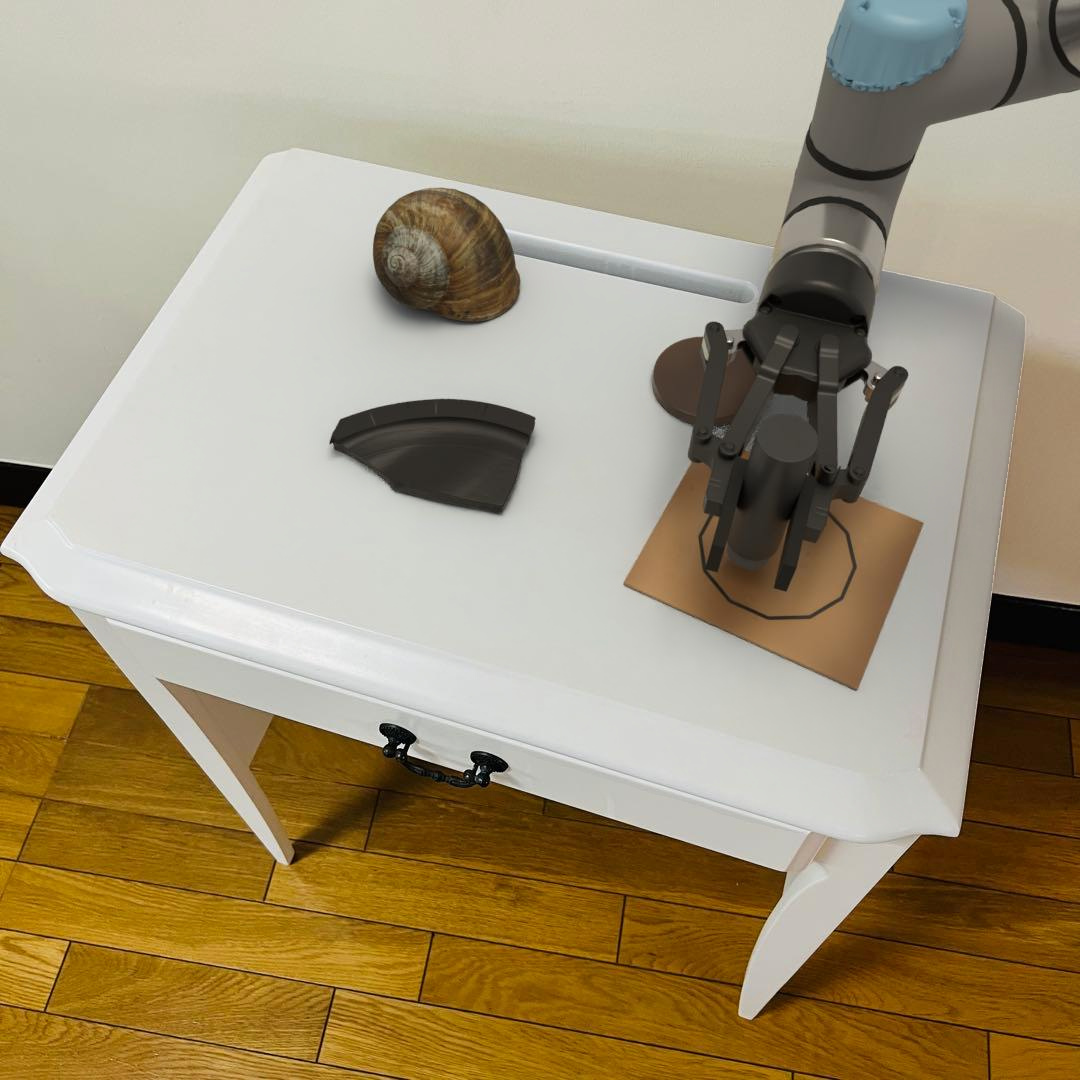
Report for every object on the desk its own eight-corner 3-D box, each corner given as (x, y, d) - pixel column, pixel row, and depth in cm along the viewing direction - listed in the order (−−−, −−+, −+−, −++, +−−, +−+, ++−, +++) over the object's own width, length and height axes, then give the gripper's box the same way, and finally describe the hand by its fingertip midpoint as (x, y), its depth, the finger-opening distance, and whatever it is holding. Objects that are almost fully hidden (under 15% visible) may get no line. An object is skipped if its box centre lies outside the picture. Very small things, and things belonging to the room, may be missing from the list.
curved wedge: (363, 386, 77) (360, 371, 76) (538, 428, 76) (539, 413, 74) (319, 473, 73) (315, 459, 72) (504, 519, 71) (503, 506, 70)
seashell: (358, 311, 82) (343, 230, 75) (406, 234, 86) (396, 152, 80) (493, 347, 80) (490, 268, 73) (534, 267, 84) (535, 186, 78)
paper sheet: (922, 524, 71) (924, 521, 71) (856, 690, 65) (858, 688, 64) (706, 437, 75) (707, 433, 75) (623, 584, 69) (623, 582, 68)
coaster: (775, 368, 79) (777, 359, 78) (735, 442, 75) (737, 433, 74) (678, 331, 81) (679, 322, 80) (634, 401, 77) (635, 392, 76)
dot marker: (782, 542, 68) (827, 427, 58) (763, 582, 67) (806, 471, 56) (734, 522, 69) (769, 405, 59) (713, 560, 67) (747, 447, 57)
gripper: (923, 355, 73) (875, 639, 61) (695, 301, 76) (606, 563, 64) (960, 275, 67) (915, 574, 55) (710, 219, 70) (615, 493, 58)
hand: (749, 567), depth 59 cm, fingers closed on dot marker, 3 cm apart
